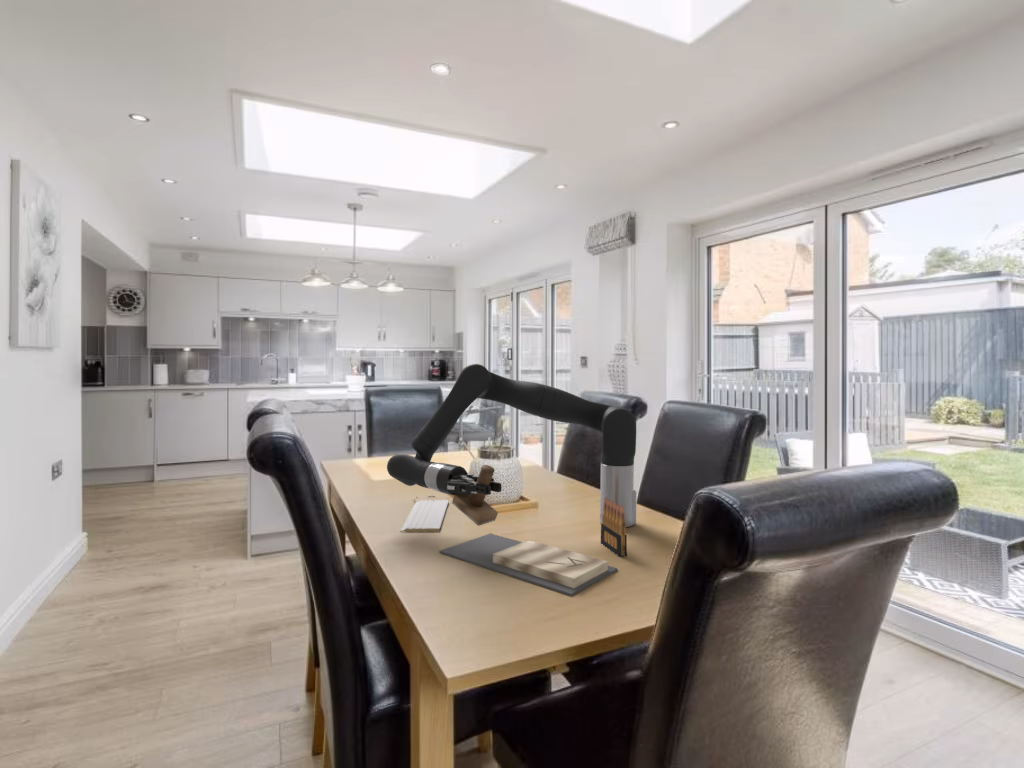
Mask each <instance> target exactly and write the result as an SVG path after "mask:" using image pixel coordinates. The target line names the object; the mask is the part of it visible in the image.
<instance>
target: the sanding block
mask: <svg viewBox="0 0 1024 768" xmlns="http://www.w3.org/2000/svg"><path fill="white" fill-rule="evenodd" d="M494 473H495V468H494V467H493V466H491V465H487V464H484V465H482V466H481V468H480V471H479V474H478V475H477V476H478V479H477V483H478V484H479V483H481V484H485V485H490V482H491V479H492V478H493V476H494ZM486 497H487V495H485V494H481V493H476V494H474V493H471V494H460V493H459V494H455V495H453V498H452V500H451V504H452V505H453V506H455V507H456V509H458V510H459V511H460V512H462V513H463V514H464V515H465V517H467V518H468V519H469V520H471V521H472V523H474V524H475V525H477V526H482V525H486V524H490V523H492V522H495V521H496V519H497V516H498V514H499V512H498V511H497V509H495V508H494V507H492V505H490V504H489V503H487V501H485V499H486Z"/></svg>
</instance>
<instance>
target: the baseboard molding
mask: <svg viewBox="0 0 1024 768" xmlns="http://www.w3.org/2000/svg"><path fill="white" fill-rule="evenodd" d="M427 498H436V496H435V495H430V496H428V497H427ZM416 499H418V496H416V498H414V500H413V499H412V500H411V501H412V502H414V505H413V506H412V509H411V510H410V512H409V513H408V515H407V517H406V520H405V521H404V523H403V525H402V527H401V529H400V530H399V532H400V531H439V532H440V529H441V526H442V524H443V521H444V518H445V514H446V511H447V508H448V505H449V500H448V499H436V500H435V499H431V500H430V499H419V501H416Z"/></svg>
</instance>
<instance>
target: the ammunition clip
mask: <svg viewBox="0 0 1024 768" xmlns="http://www.w3.org/2000/svg"><path fill="white" fill-rule="evenodd" d="M627 538H628V537H627V534H626V527H625V513H624V508H623V506H621V508H620V505H619V504H618V506H617V504H616V502H615V503H613V500H612V501H611V502H610V499H608V500H607V497H605V499H604V505H603V514H602V524H601V523H600V544H601V545H602V544H603V545H602V546H604V547H605V548H606V547H607V549H608V550H609V549H610V550H609V551H611V552H612V553H613V552H614V553H613V554H615V555H616V554H617V555H618V556H617V555H616V556H617V557H619V558H624V556H626V557H627V555H628V550H627V549H628V548H627V545H628V543H627V542H628V541H627V540H628V539H627Z"/></svg>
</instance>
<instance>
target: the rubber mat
mask: <svg viewBox="0 0 1024 768" xmlns="http://www.w3.org/2000/svg"><path fill="white" fill-rule="evenodd" d="M523 542H524V541H519V540H515V539H512V538H508V537H506V536H502V535H501V536H500V535H498V534H493V533H487V534H485V535H481V536H478V537H475V538H472V539H470V540H466V541H464V542H460V543H458V544H456V545H453V546H449V547H446V548H443V549H439V553H440V554H443V555H445V556H448V557H452V558H455V559H457V560H458V559H459V560H461V561H464V562H467V563H470V564H473V565H476V566H479V567H481V566H482V568H484V569H487V570H491V571H494V572H497V573H500V574H503V575H506V576H509V577H512V578H516V579H519V580H521V581H524V582H527V583H531V584H533V585H537V586H539V587H542V588H546V589H549V590H551V591H555V592H557V593H561V594H563V595H566V594H567V596H568V597H569V596H570V597H572V596H574V595H576V594H578V593H579V592H582V591H583V590H585V589H586V588H588V587H590V586H592V585H594V584H596V583H598V582H599V581H601V580H602V579H604V578H606V577H608V576H610V575H612V574H614V573H616V572H618V568H617V567H614V566H611V565H608V570H607V571H605V572H604V573H602V574H600V575H598V576H596V577H594V578H592V579H591V580H589V581H587V582H585V583H583V584H581V585H580V586H578V587H576V588H571V587H568V586H565V585H562V584H559V583H556V582H552V581H549V580H546V579H543V578H540V577H537V576H534V575H530V574H527V573H524V572H521V571H518V570H515V569H512V568H508V567H505V566H502V565H499V564H496V563H493V554H494V553H496V552H499V551H502V550H504V549H507V548H509V547H512V546H515V545H517V544H520V543H523ZM615 571H616V572H615Z"/></svg>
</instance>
